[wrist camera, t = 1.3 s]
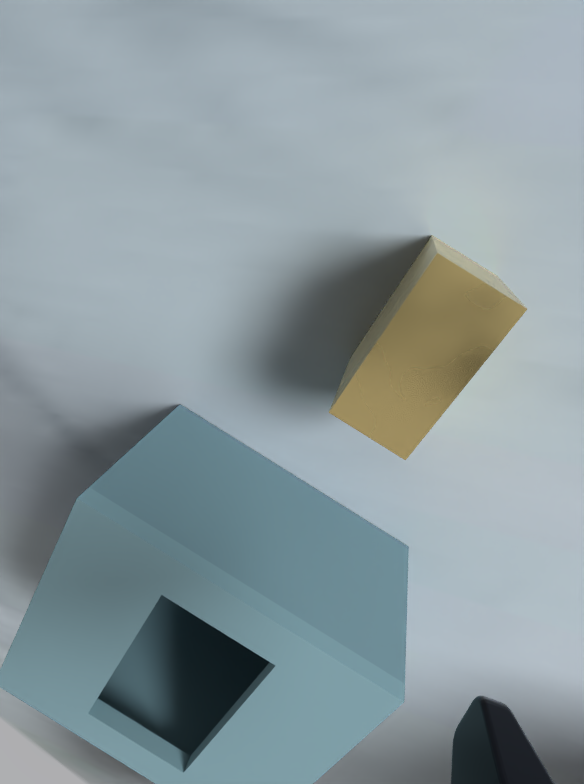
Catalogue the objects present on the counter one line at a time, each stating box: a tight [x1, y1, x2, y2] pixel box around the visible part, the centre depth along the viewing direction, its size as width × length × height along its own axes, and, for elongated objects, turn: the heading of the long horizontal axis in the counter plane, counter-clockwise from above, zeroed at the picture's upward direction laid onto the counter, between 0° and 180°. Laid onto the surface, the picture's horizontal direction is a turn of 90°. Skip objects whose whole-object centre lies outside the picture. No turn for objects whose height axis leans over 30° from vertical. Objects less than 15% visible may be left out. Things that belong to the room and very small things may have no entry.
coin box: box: [0, 405, 408, 784], centre depth 20 cm, size 11×10×7 cm
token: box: [329, 236, 527, 460], centre depth 15 cm, size 2×5×5 cm, turn 150°
